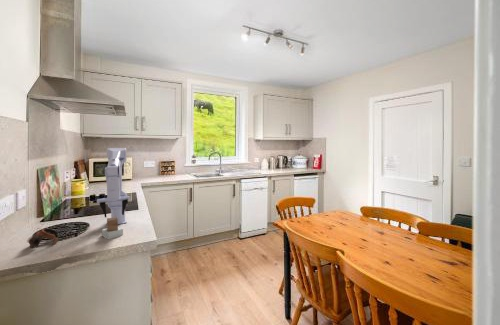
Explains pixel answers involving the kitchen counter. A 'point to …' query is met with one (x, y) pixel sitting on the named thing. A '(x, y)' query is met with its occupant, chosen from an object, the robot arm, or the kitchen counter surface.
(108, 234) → the base block
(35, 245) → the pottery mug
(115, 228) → the walnut block
